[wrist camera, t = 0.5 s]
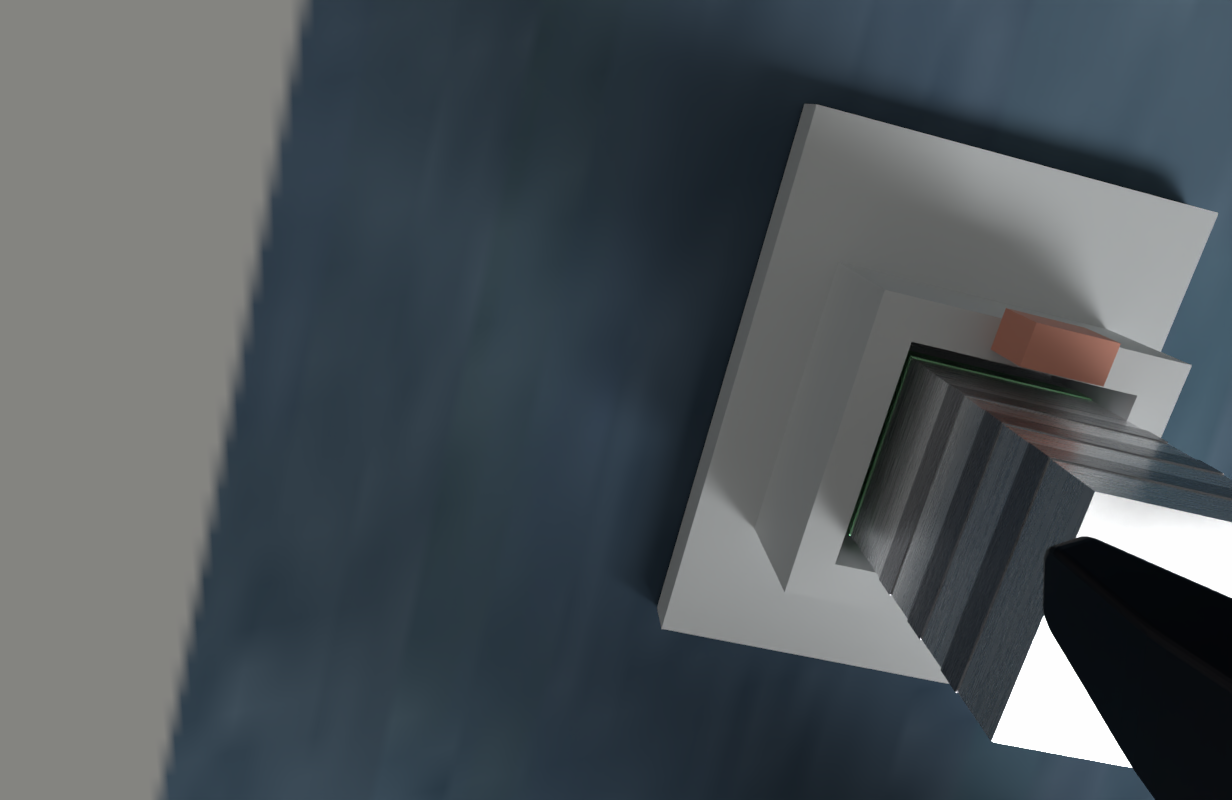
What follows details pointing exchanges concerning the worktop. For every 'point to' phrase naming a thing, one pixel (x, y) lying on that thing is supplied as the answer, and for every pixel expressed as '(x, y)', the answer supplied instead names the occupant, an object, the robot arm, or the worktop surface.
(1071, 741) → the column
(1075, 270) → the stand base
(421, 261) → the worktop surface
